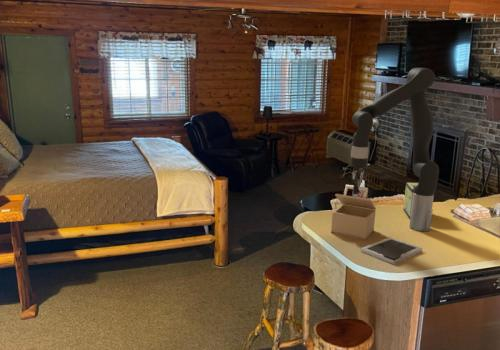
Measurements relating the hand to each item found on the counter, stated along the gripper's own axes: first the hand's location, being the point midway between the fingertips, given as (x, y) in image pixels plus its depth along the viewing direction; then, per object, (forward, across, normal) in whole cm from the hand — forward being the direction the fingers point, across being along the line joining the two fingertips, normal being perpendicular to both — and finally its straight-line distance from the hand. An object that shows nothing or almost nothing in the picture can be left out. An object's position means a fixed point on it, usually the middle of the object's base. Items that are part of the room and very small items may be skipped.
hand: (356, 193), depth 217 cm
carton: (+18, 0, 0) cm, 18 cm away
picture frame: (+19, -15, -21) cm, 32 cm away
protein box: (+18, +42, -21) cm, 50 cm away
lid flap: (+4, 0, 0) cm, 4 cm away
